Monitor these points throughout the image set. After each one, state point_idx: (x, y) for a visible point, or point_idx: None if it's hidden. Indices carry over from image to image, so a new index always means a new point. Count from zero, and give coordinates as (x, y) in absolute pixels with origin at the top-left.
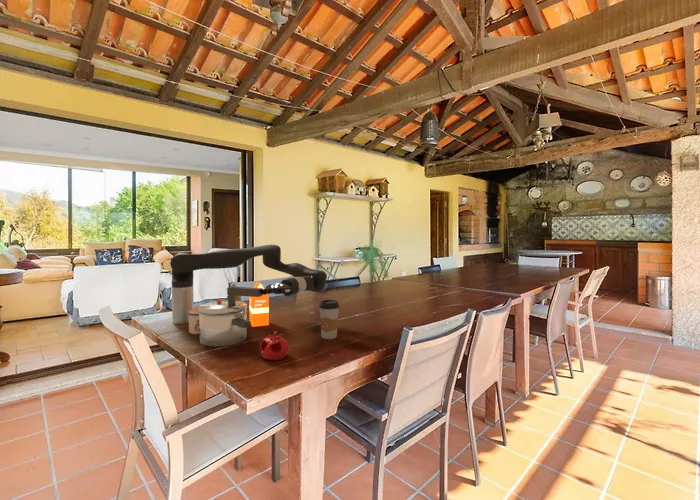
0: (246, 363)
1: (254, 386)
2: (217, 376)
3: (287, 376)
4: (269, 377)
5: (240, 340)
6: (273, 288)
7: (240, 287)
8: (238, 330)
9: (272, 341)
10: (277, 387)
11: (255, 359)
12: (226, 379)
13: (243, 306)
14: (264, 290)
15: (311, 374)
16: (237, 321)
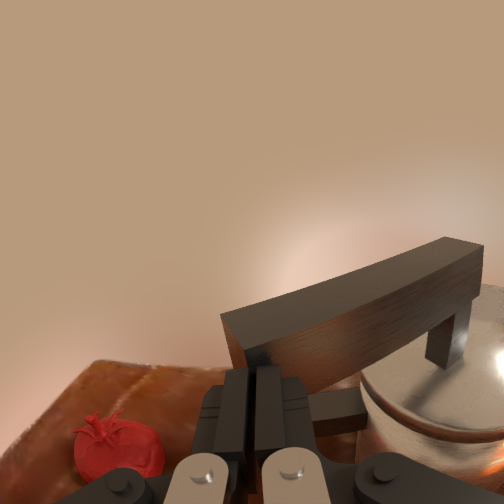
0: (176, 418)
1: (102, 376)
2: (184, 366)
3: (63, 414)
4: (92, 401)
5: None
6: (177, 480)
7: (420, 264)
8: (362, 449)
9: (96, 411)
10: (68, 387)
11: (172, 441)
12: (160, 369)
13: (400, 398)
14: (228, 382)
15: (26, 432)
16: (312, 395)
